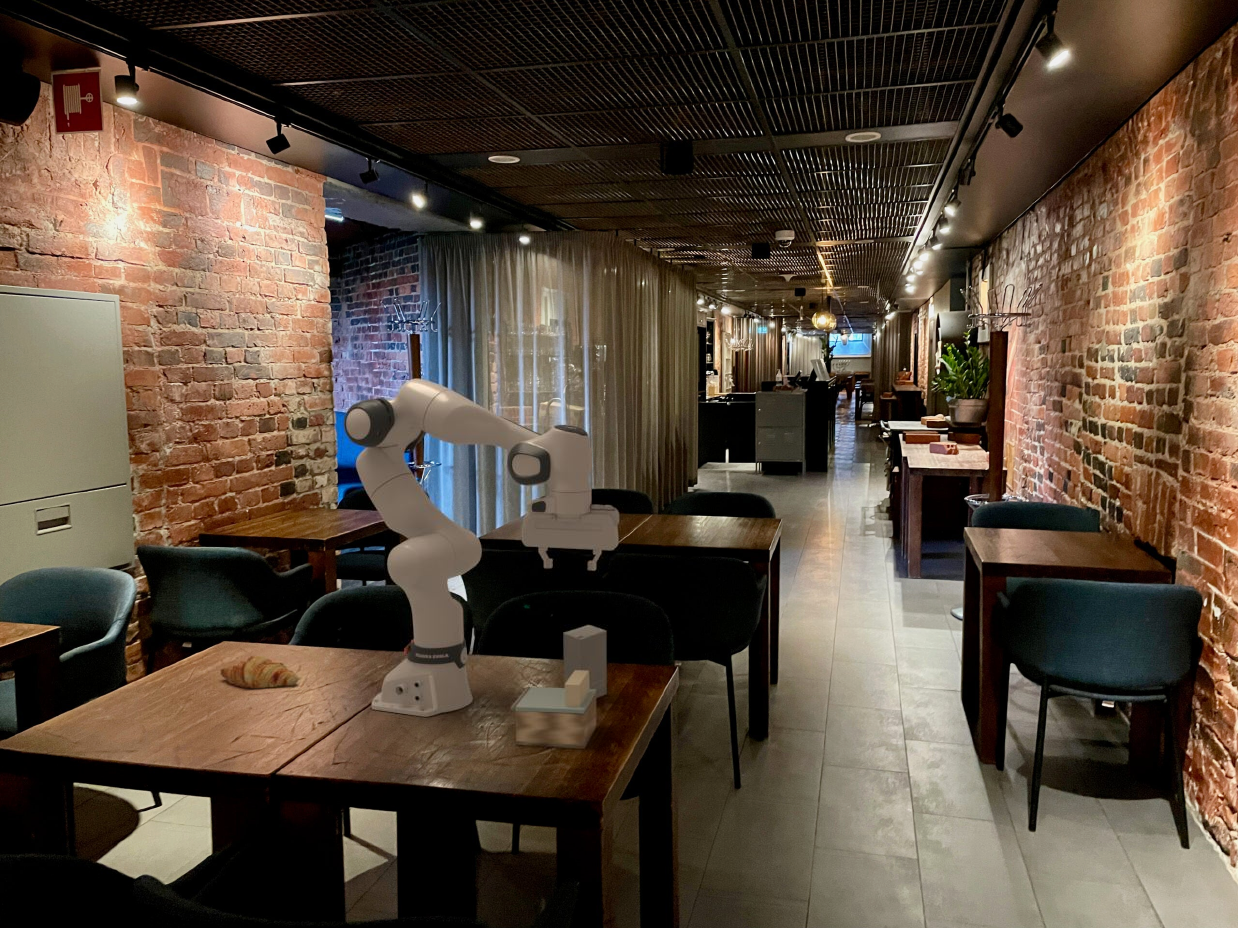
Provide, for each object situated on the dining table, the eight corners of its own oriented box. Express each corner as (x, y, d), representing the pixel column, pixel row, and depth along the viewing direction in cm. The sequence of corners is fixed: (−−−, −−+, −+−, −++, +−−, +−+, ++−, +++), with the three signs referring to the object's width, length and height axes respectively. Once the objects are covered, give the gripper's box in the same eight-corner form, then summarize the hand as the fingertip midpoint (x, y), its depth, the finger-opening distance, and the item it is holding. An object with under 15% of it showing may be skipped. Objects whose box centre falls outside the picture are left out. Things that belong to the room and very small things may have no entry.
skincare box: (588, 688, 217) (587, 623, 215) (609, 696, 212) (608, 628, 210) (561, 697, 211) (560, 630, 209) (582, 705, 206) (581, 636, 204)
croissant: (305, 696, 225) (312, 663, 228) (283, 689, 216) (291, 655, 219) (228, 689, 229) (236, 657, 232) (204, 682, 220) (213, 649, 223)
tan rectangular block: (565, 706, 183) (564, 684, 183) (575, 690, 192) (574, 670, 192) (580, 706, 183) (579, 684, 182) (589, 691, 191) (588, 670, 191)
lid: (510, 710, 184) (510, 706, 184) (526, 690, 196) (526, 686, 196) (583, 713, 181) (583, 709, 181) (596, 692, 193) (595, 688, 193)
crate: (516, 744, 184) (515, 710, 184) (532, 722, 196) (531, 690, 195) (584, 748, 182) (583, 714, 181) (596, 726, 194) (596, 693, 193)
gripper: (622, 503, 192) (621, 568, 194) (527, 499, 196) (527, 563, 197) (616, 507, 186) (615, 574, 187) (519, 504, 190) (519, 569, 191)
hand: (570, 568), depth 192 cm, fingers open, 8 cm apart
